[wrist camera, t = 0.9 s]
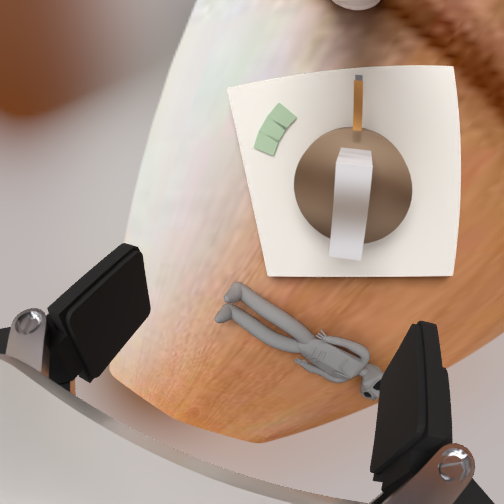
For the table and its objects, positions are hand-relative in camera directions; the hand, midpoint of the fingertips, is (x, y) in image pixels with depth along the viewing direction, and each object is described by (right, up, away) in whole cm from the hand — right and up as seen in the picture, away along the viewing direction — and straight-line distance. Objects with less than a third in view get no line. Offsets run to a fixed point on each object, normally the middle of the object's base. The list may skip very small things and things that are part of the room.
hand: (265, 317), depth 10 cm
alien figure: (+8, -9, +30) cm, 32 cm away
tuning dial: (+8, +10, +15) cm, 20 cm away
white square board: (+9, +9, +18) cm, 22 cm away
